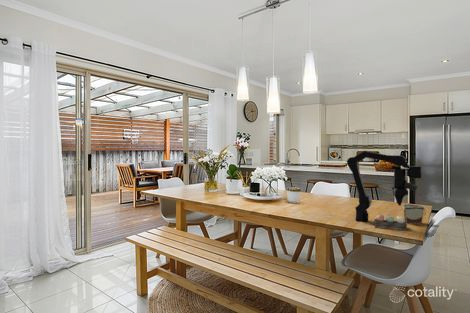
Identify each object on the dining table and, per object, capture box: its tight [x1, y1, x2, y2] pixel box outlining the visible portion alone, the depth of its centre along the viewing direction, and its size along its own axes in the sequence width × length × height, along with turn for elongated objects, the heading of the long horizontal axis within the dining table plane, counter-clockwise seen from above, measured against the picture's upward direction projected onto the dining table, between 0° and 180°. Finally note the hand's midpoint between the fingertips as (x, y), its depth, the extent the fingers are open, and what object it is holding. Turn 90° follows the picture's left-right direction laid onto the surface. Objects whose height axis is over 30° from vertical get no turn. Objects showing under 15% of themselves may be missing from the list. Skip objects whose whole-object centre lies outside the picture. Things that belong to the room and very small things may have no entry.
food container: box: [402, 204, 426, 224], centre depth 167 cm, size 12×6×10 cm, turn 92°
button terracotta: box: [376, 214, 385, 222], centre depth 158 cm, size 4×4×3 cm
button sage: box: [385, 215, 395, 223], centre depth 156 cm, size 4×4×3 cm
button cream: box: [395, 216, 405, 224], centre depth 154 cm, size 4×4×3 cm
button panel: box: [374, 218, 408, 232], centre depth 156 cm, size 15×9×3 cm, turn 66°
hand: (399, 204), depth 159 cm, fingers open, 4 cm apart
